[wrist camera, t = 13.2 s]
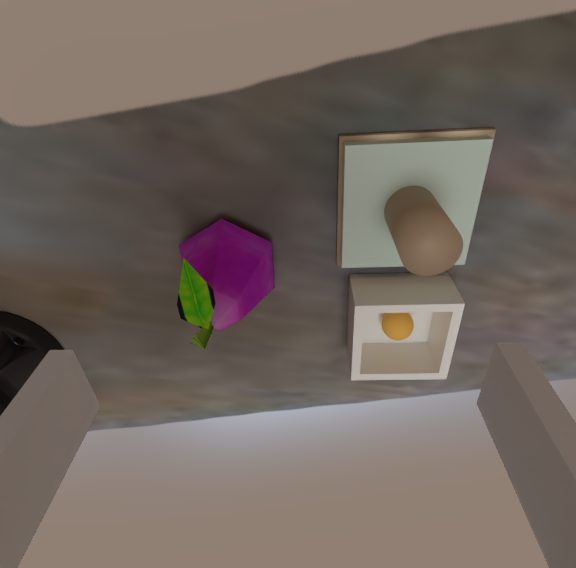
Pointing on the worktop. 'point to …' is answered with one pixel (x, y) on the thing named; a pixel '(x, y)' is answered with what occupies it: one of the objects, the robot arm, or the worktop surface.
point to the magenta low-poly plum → (222, 277)
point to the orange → (397, 325)
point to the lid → (411, 201)
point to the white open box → (426, 333)
